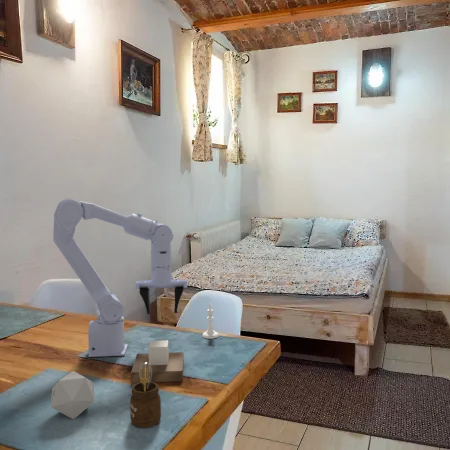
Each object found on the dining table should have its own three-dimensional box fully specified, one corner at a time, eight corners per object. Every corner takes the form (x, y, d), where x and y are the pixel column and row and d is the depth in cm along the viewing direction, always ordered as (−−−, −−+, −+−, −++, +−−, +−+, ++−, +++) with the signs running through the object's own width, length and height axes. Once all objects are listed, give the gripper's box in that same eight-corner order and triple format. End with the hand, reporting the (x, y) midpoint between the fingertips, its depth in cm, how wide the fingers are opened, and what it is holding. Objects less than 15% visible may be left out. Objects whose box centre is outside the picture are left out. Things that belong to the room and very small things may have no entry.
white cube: (149, 365, 112) (148, 347, 111) (150, 358, 116) (150, 340, 116) (167, 364, 112) (167, 346, 112) (168, 357, 116) (168, 340, 116)
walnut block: (131, 385, 108) (130, 372, 107) (137, 364, 120) (137, 353, 119) (182, 383, 108) (182, 370, 108) (183, 363, 120) (183, 352, 120)
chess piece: (219, 333, 142) (219, 301, 141) (217, 339, 137) (217, 306, 136) (203, 333, 143) (203, 301, 142) (201, 338, 138) (200, 305, 137)
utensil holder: (160, 412, 94) (159, 355, 93) (161, 428, 87) (160, 367, 86) (131, 414, 93) (129, 357, 92) (129, 431, 86) (128, 369, 85)
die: (68, 403, 99) (41, 377, 94) (103, 382, 100) (77, 355, 95) (68, 434, 92) (38, 408, 87) (105, 412, 93) (78, 385, 88)
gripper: (133, 269, 126) (135, 317, 127) (186, 267, 127) (187, 315, 129) (136, 264, 133) (137, 310, 134) (186, 263, 134) (187, 309, 136)
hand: (162, 312), depth 132 cm, fingers open, 7 cm apart
